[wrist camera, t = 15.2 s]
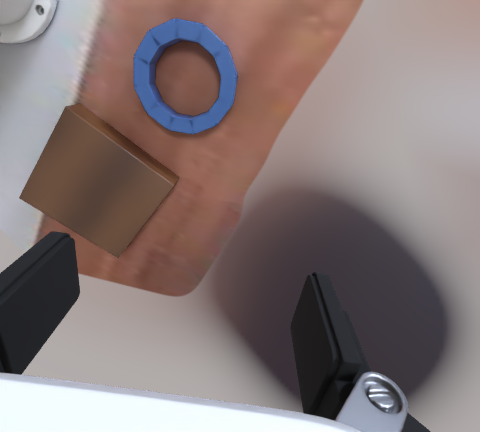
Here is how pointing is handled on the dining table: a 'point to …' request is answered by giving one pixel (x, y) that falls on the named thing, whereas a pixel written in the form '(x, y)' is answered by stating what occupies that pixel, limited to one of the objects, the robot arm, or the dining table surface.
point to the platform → (96, 181)
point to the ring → (146, 70)
